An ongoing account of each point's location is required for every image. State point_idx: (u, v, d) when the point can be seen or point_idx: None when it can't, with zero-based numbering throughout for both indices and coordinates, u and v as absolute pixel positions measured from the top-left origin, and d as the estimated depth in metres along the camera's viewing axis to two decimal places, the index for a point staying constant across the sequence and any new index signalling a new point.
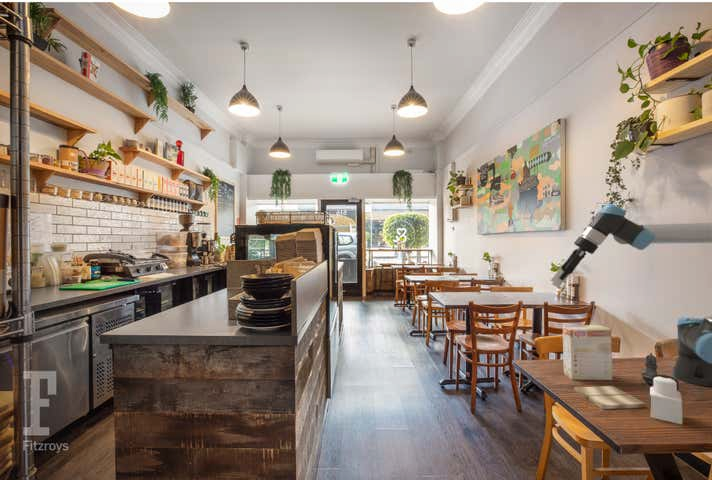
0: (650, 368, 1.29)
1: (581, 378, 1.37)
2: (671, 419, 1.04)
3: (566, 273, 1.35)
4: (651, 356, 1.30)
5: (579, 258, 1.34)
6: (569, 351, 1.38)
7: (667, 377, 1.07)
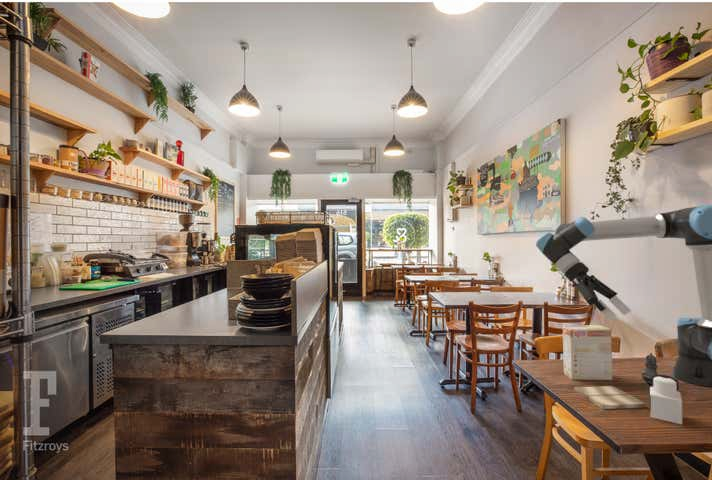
0: (650, 368, 1.29)
1: (581, 378, 1.37)
2: (671, 419, 1.04)
3: (595, 302, 1.19)
4: (651, 356, 1.30)
5: (580, 285, 1.23)
6: (569, 351, 1.38)
7: (667, 377, 1.07)
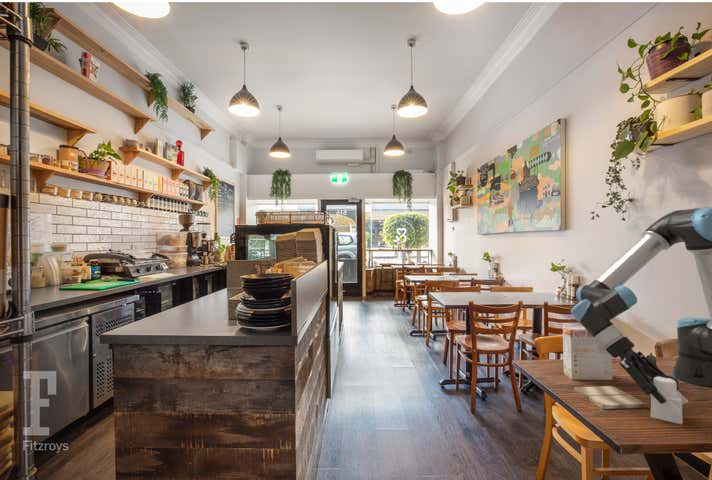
0: None
1: (581, 378, 1.37)
2: (671, 419, 1.04)
3: (654, 393, 1.05)
4: (651, 356, 1.30)
5: (632, 370, 1.09)
6: (569, 351, 1.38)
7: (667, 377, 1.07)
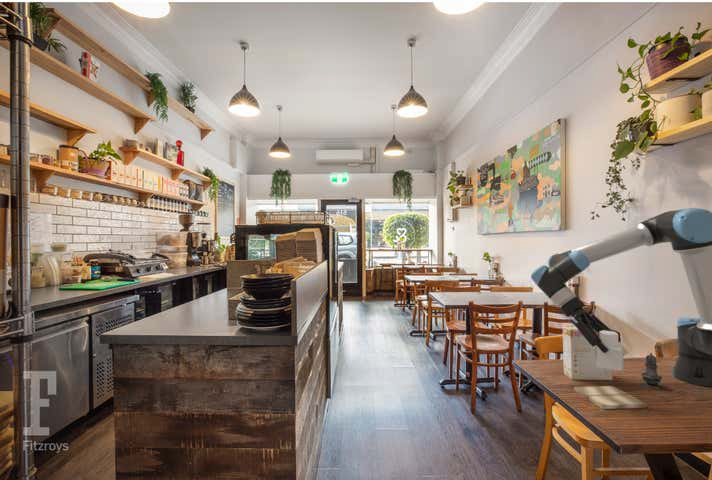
0: (650, 368, 1.29)
1: (581, 378, 1.37)
2: (613, 367, 1.16)
3: (598, 344, 1.17)
4: (651, 356, 1.30)
5: (580, 324, 1.21)
6: (569, 351, 1.38)
7: (611, 330, 1.20)
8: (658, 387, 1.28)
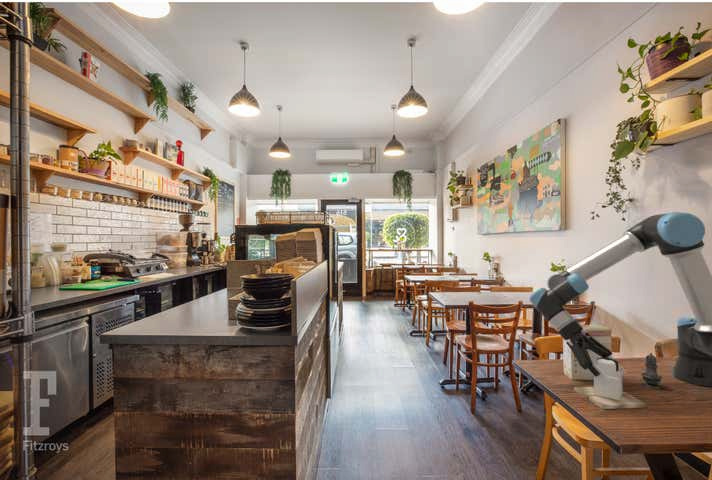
0: (650, 368, 1.29)
1: (581, 378, 1.37)
2: (610, 396, 1.17)
3: (590, 367, 1.17)
4: (651, 356, 1.30)
5: (575, 347, 1.22)
6: (569, 351, 1.38)
7: (609, 359, 1.20)
8: (658, 387, 1.28)
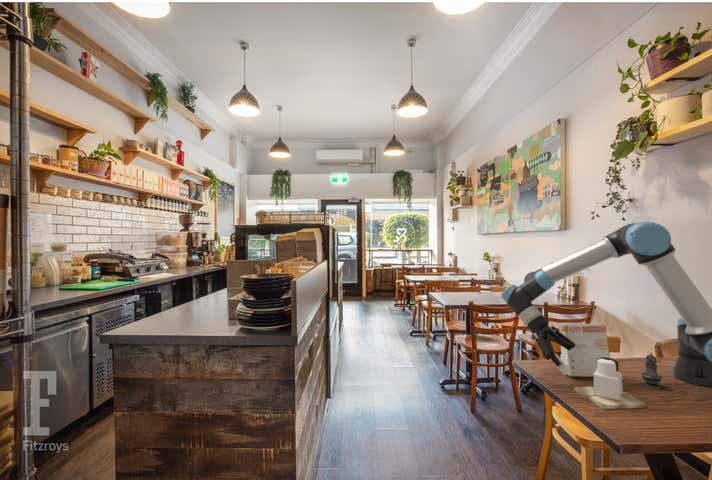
0: (650, 368, 1.29)
1: (579, 374, 1.37)
2: (610, 396, 1.17)
3: (552, 358, 1.27)
4: (651, 356, 1.30)
5: (539, 339, 1.31)
6: None
7: (609, 359, 1.20)
8: (658, 387, 1.28)
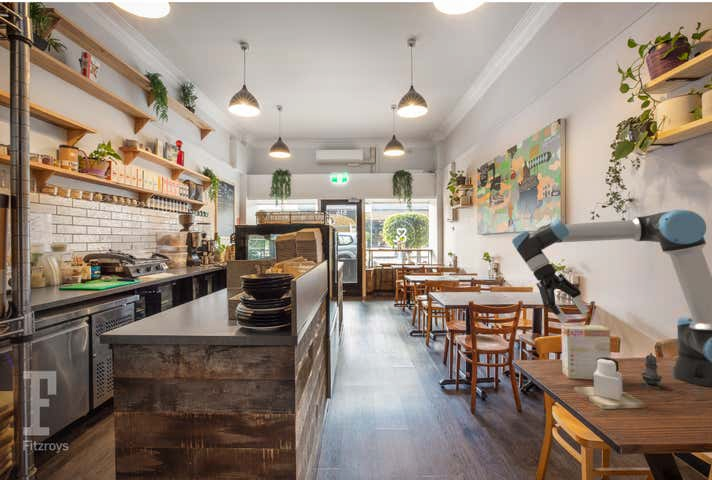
0: (650, 368, 1.29)
1: (578, 377, 1.38)
2: (610, 396, 1.17)
3: (552, 307, 1.30)
4: (651, 356, 1.30)
5: (542, 288, 1.33)
6: (566, 350, 1.40)
7: (609, 359, 1.20)
8: (658, 387, 1.28)
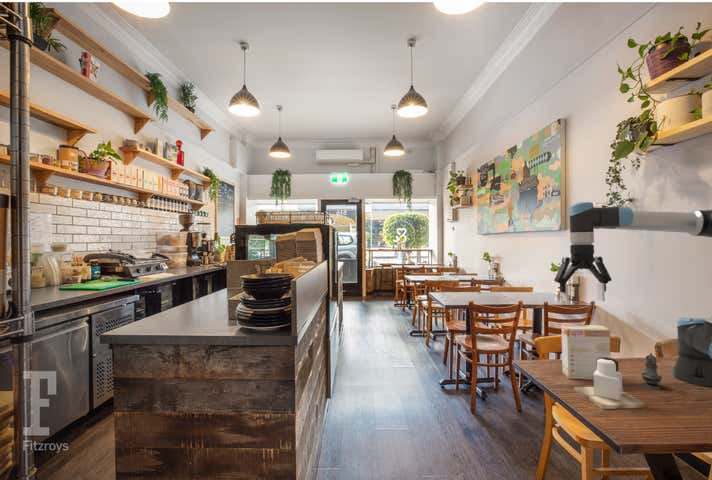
0: (650, 368, 1.29)
1: (578, 377, 1.38)
2: (610, 396, 1.17)
3: (561, 284, 1.33)
4: (651, 356, 1.30)
5: (563, 265, 1.33)
6: (566, 350, 1.40)
7: (609, 359, 1.20)
8: (658, 387, 1.28)
